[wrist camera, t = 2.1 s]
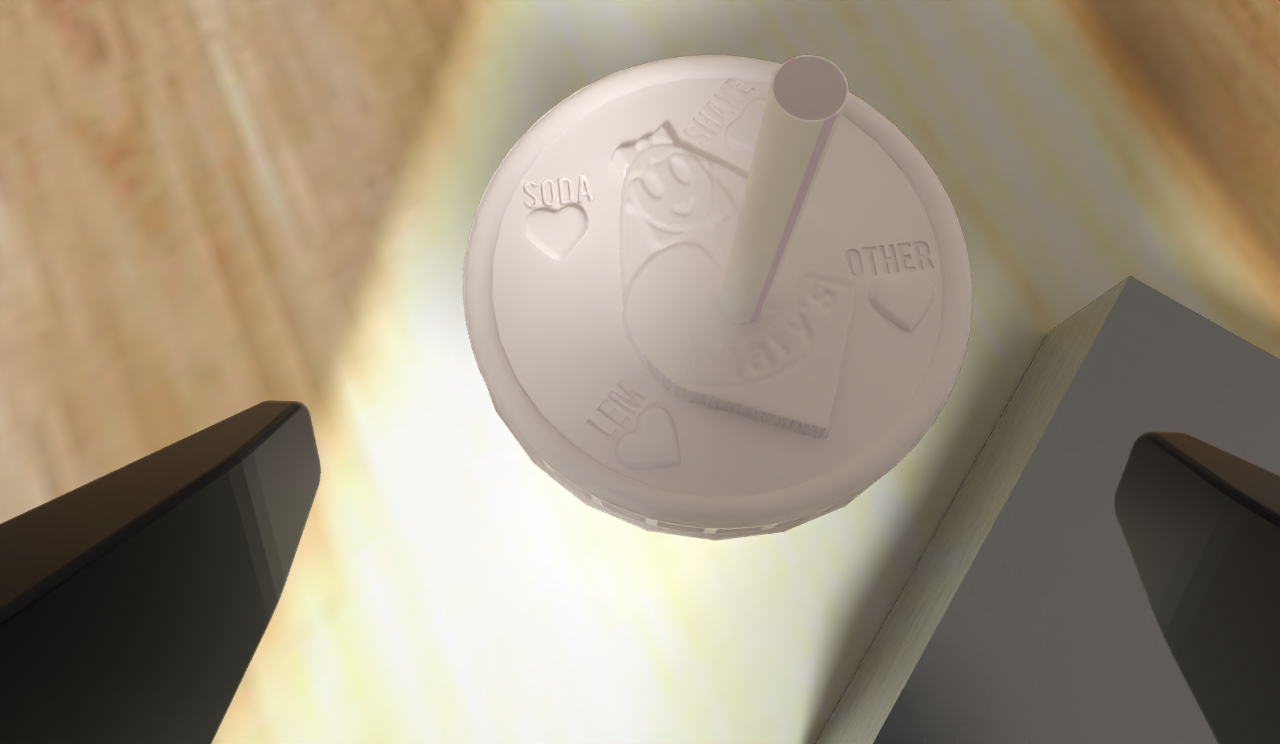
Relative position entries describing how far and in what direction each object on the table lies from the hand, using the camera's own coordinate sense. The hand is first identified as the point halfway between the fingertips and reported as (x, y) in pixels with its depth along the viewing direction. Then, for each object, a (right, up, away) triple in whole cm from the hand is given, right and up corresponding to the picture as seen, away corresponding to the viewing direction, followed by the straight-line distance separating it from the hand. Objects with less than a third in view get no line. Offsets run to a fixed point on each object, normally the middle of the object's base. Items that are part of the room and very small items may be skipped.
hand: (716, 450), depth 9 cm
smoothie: (0, -1, +11) cm, 11 cm away
